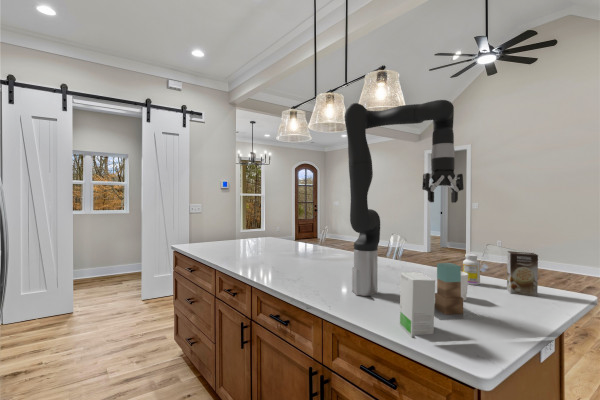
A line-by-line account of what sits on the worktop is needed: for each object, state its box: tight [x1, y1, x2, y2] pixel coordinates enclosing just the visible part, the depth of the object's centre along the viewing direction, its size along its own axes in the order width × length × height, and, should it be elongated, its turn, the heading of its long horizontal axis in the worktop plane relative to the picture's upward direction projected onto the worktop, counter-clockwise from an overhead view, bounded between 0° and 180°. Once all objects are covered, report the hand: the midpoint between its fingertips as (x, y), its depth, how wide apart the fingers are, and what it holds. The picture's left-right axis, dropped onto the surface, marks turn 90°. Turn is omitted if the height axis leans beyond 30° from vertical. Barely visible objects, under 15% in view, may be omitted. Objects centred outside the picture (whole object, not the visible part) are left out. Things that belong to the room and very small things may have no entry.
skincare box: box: [398, 271, 436, 338], centre depth 84 cm, size 8×7×16 cm
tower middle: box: [436, 278, 461, 298], centre depth 98 cm, size 5×5×5 cm
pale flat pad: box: [434, 303, 485, 321], centre depth 98 cm, size 14×14×1 cm
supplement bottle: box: [462, 253, 481, 286], centre depth 135 cm, size 7×7×13 cm
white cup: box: [461, 271, 469, 301], centre depth 112 cm, size 8×8×10 cm
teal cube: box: [436, 262, 462, 282], centre depth 98 cm, size 5×5×5 cm
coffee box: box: [506, 250, 539, 297], centre depth 121 cm, size 9×6×16 cm
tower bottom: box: [434, 292, 464, 315], centre depth 98 cm, size 6×6×5 cm
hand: (442, 202), depth 109 cm, fingers open, 8 cm apart
